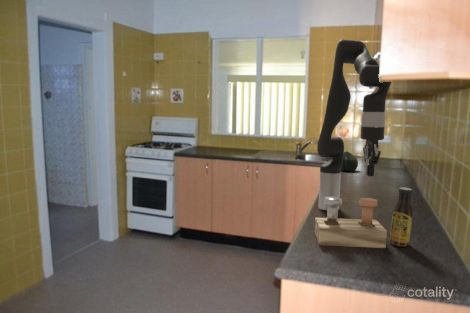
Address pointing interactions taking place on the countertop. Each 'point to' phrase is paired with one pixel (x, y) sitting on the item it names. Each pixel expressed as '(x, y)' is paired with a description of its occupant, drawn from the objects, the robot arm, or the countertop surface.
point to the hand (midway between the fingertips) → (370, 175)
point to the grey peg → (332, 208)
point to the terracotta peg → (367, 209)
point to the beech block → (350, 233)
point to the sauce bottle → (402, 219)
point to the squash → (349, 162)
